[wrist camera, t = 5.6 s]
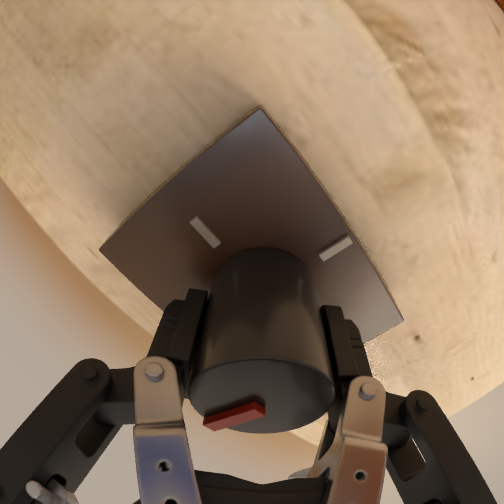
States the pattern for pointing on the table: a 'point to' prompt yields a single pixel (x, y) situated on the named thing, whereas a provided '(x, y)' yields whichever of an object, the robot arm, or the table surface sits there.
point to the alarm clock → (501, 3)
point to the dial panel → (249, 226)
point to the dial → (262, 347)
